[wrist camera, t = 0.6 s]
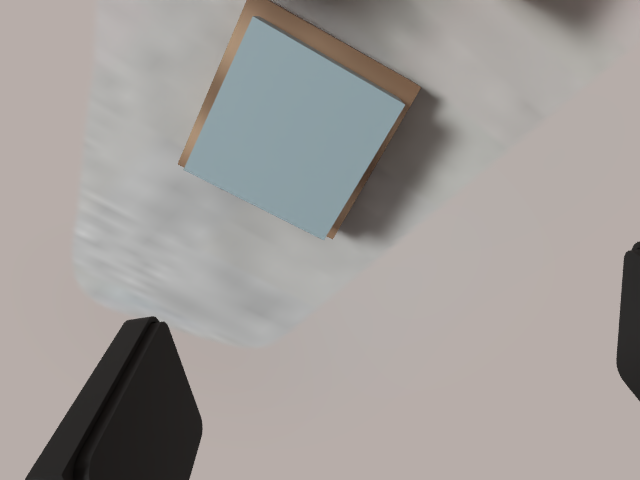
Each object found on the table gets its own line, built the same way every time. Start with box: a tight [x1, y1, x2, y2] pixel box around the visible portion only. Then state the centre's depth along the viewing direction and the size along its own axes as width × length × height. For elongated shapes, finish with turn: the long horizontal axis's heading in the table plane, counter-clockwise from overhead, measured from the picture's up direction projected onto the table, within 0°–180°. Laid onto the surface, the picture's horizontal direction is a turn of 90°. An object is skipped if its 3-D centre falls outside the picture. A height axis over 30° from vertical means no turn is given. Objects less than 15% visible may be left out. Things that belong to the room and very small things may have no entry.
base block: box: [178, 0, 421, 239], centre depth 35 cm, size 12×12×3 cm
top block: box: [184, 16, 405, 240], centre depth 32 cm, size 10×10×3 cm
